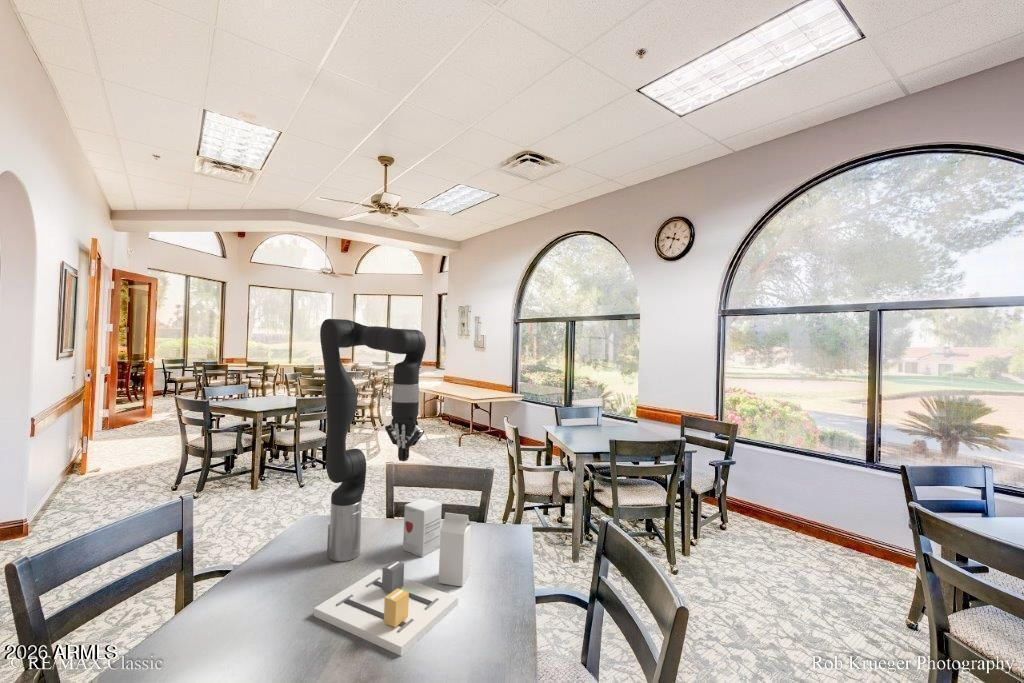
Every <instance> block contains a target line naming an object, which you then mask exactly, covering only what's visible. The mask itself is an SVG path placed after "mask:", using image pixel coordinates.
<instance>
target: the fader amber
mask: <svg viewBox="0 0 1024 683" xmlns="http://www.w3.org/2000/svg"><path fill="white" fill-rule="evenodd" d="M408 603H409V592H407V591H404V590H401V589H399V588H397V589H396V590H394V591H393V592H391V593H390V594H389V595H387V596H386V597H385V601H384V623H386V624H388V625H390V626H393V627H396V626H398V625H399V624H400V623H401V622H403V621H404V620H405V619H406V618H408Z"/></svg>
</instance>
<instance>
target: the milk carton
mask: <svg viewBox="0 0 1024 683" xmlns="http://www.w3.org/2000/svg"><path fill="white" fill-rule="evenodd" d="M471 540H472V523H471V522H470V519H469V515H468V514H460V513H453V512H444V518H443V521H442V523H441V531H440V547H439V561H438V562H439V565H438V584H441V585H448V586H449V585H450V586H453V587H454V586H456V587H464V584H465V583H466V581H467V579H468V577H469V576H470V572H471V571H470V569H471V568H470V567H471V548H472V547H471V543H472V541H471Z"/></svg>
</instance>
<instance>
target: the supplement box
mask: <svg viewBox="0 0 1024 683" xmlns="http://www.w3.org/2000/svg"><path fill="white" fill-rule="evenodd" d="M442 506H443V504H442V502H438V501H435V500H432V499H429V498H424V497H421V498H419V499H416V500H413V501H411V502H408V503H406V504H405V505H404V514H403V515H404V516H403V520H404V521H403V542H402V544H403V545H402V550H403V551H406V552H407V553H410V554H411V553H412V554H413V555H416V556H418V557H421V558H424V557H425V556H427V555H428V554H431V553H432V552H434V551H435V550H437V549H440V531H441V528H442V512H443V511H442V508H443V507H442Z"/></svg>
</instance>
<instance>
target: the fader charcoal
mask: <svg viewBox="0 0 1024 683" xmlns="http://www.w3.org/2000/svg"><path fill="white" fill-rule="evenodd" d="M381 570H382V590H383V591H386V592H389V593H391V592H393V591H394V590H396V589H397V588H401V587H402V586H403V583H404V578H405V577H404V576H405V563H404V562H401V561H398V560H392V561H391V562H389V563H388V564H386V565H384V566H383V567H382V569H381Z"/></svg>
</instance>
